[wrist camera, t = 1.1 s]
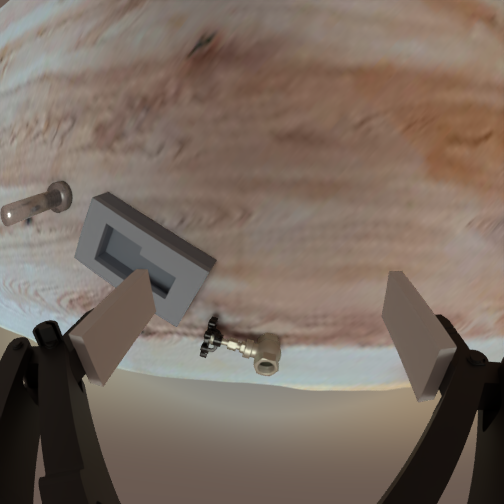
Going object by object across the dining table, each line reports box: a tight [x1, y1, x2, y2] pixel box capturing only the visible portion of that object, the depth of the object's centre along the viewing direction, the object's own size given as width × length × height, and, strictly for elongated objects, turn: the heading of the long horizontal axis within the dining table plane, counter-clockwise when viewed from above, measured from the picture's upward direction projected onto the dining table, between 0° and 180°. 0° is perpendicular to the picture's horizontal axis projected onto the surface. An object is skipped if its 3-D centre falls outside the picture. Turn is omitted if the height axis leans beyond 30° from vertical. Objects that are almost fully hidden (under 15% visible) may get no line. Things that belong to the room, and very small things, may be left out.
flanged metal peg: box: [1, 181, 72, 226], centre depth 36 cm, size 5×5×14 cm
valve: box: [200, 316, 281, 376], centre depth 44 cm, size 7×7×12 cm
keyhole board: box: [74, 192, 216, 327], centre depth 42 cm, size 20×11×4 cm, turn 58°
